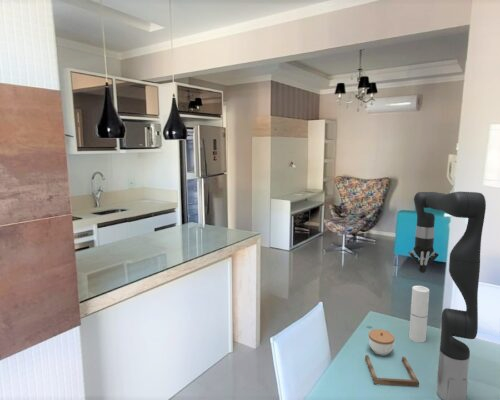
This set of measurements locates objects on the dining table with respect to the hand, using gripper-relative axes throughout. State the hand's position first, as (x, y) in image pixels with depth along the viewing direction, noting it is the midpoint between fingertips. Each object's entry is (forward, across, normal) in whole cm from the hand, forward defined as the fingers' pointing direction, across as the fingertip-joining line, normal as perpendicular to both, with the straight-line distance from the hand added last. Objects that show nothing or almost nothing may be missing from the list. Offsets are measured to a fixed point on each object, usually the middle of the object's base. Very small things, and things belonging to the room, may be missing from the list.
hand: (422, 272), depth 159 cm
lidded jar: (+33, -20, -12) cm, 41 cm away
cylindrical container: (+33, 0, 0) cm, 33 cm away
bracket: (+33, -20, -26) cm, 47 cm away
